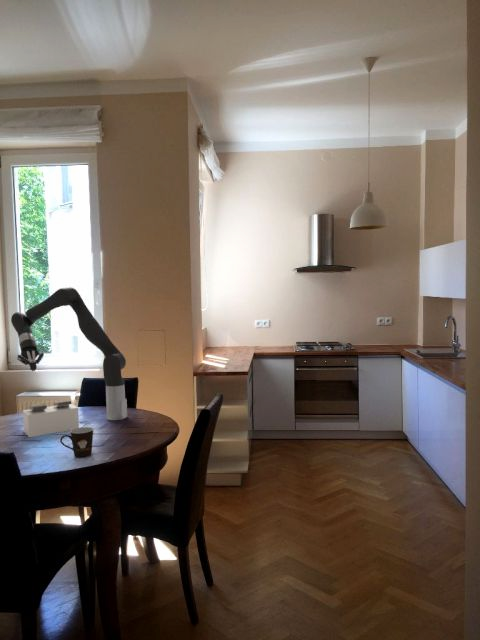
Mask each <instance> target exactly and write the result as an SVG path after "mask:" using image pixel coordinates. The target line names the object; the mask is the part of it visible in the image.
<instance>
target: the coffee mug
mask: <svg viewBox="0 0 480 640" xmlns="http://www.w3.org/2000/svg"><path fill="white" fill-rule="evenodd" d="M69 431H70V433H69V434H70V435H68V434H65V435H62V436H61V437H60V439H59V440H60V443H61V445H62V446H64V447H65V448H68V449H69V450H72V451H73V456H74V458H76V459H84V458H88V457H91V456H92V455H93V454H92V453H93V441H94V440H93V439H94V428H93V427H89V426H84V427H83V426H82V427H79V428H76V429H73V430H69ZM65 437H66V438H69V439H70V440H71V443H72V447H71V446H68V445H67V444H65V443H63V439H64V438H65Z"/></svg>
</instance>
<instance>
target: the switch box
mask: <svg viewBox="0 0 480 640" xmlns="http://www.w3.org/2000/svg"><path fill="white" fill-rule="evenodd" d="M22 419H23V422H22V423H23V432H24V433H25V435H26V436H27V435H28V436H27V437H28V438H34V437H38V436H44V435H50V434H55V433H61V432H62V433H63V432H66V431H71V430H73V429H76V428H80V424H79V421H80V420H79V407H78V406H77V405H74V404H73V403H71V404H69V405H62V406H54V405H51V406H47V409H40V410H31V409H23V410H22Z"/></svg>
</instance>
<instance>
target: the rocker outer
mask: <svg viewBox="0 0 480 640" xmlns="http://www.w3.org/2000/svg"><path fill="white" fill-rule="evenodd" d="M47 405H48V404H47ZM47 405H46V404H44V403H37V404H30V405H29V409H31V410H40V409H47V407H48V406H47ZM29 409H28V410H29Z"/></svg>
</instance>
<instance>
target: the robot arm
mask: <svg viewBox="0 0 480 640" xmlns="http://www.w3.org/2000/svg"><path fill="white" fill-rule="evenodd" d="M66 306H67V307H68V306H70V308H71V309H72V310H73V312H74V313H75V315H76V317H77V324H78V327H79V330H80V331H81V333H82V334H83V335H84V337H85V338H86V340H88V341H89V342H90V343H91V344H92V345H93V346H95V347H96V348H97V349H99V350H100V351H101V353H102V354H103V355H104V359H103V362H102V369H103V370H102V372H103V380H104V382H105V397H106V398H105V402H106V419H107V420H108V421H122V420H124V419H126V418H127V417H128V408H127V407H128V404H127V401H128V400H127V398H126V391H125V379H124V378H123V377H122V370H123V369H124V368H125V367H126V365H127V362H126V361H127V360H126V357H125V356H124V354H122V352H121V351H120V350H119V349H118V348H117V347H116V346H115V344H114V343H113V342H112V341H111V339H110V338H109V336H108V335H107V334H106V332H105V331H104V329H103V328H102V326H101V324H99V322H98V321H97V319H96V318H95V317H94V315H93V314H92V312H91V311H90V309H89V308H88V306H87V305H86V303H85V302H84V299H82V296H81V295H80V293H79V292H78V290H77V289H76V288H74V287H71V286H68V287H62V288H59V289H57V290H55V292H53V293H52V294H51V295H50V296H49V297H48V298H46V299H44V300H43V301H41V302H39V303H37V304H36V305H34V306H32V307H30V308H28V309H27V310H26V312H25V313H23V312H18V311H16V312H13V314H12V315H11V317H10V318H11V320H10V321H11V324H12V327H13V328H14V330H15V332H16V334H17V336H18V345H19V348H20V354H18V355H17V357H16V359H17V360H18V361H19V362H20V363H22V364H23V365H25V366H27V365H28V366H29V369H30V371H31V372H35V371H36V370H37V364H40V362H41V361H42V359H43V358H44V355H45V354H44V352H40V351H39V350H38V347H37V342H36V339H35V336H34V334H33V330H32V328H31V327H32V326H34V324H35V322H37V321H38V320H40V319H42V318H43V317H45V316H46V315H48V314H49V313H50V312H52V311H53V310H54V309H57V308H61V307H66Z"/></svg>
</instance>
